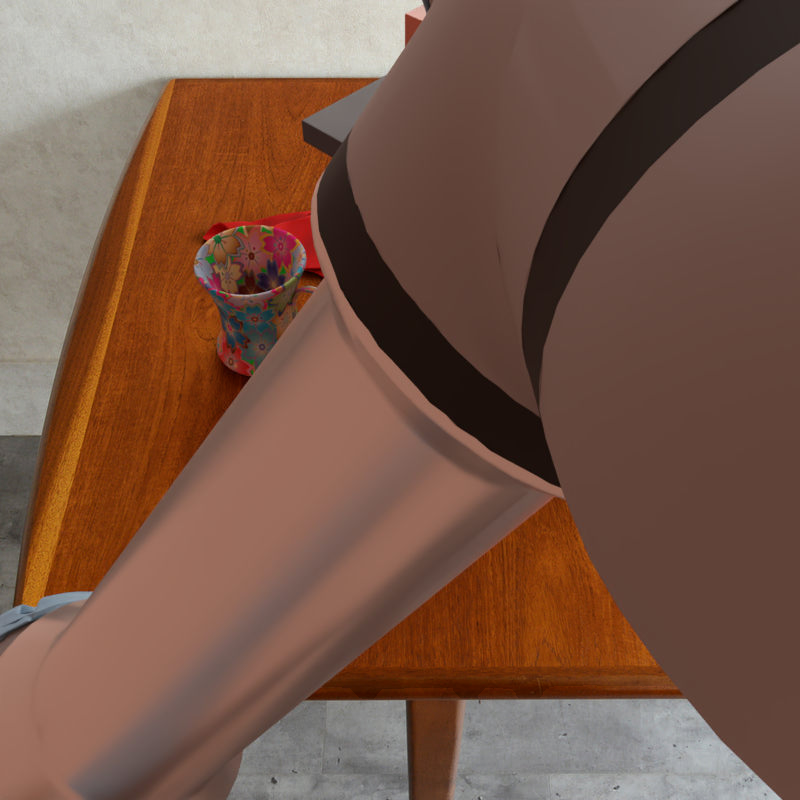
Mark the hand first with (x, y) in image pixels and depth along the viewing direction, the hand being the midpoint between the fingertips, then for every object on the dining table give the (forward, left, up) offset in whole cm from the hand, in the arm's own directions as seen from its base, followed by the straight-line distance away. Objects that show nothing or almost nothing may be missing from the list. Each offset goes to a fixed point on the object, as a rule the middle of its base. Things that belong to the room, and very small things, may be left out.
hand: (653, 88), depth 42 cm
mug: (-3, +29, -37) cm, 47 cm away
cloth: (+11, +36, -37) cm, 53 cm away
